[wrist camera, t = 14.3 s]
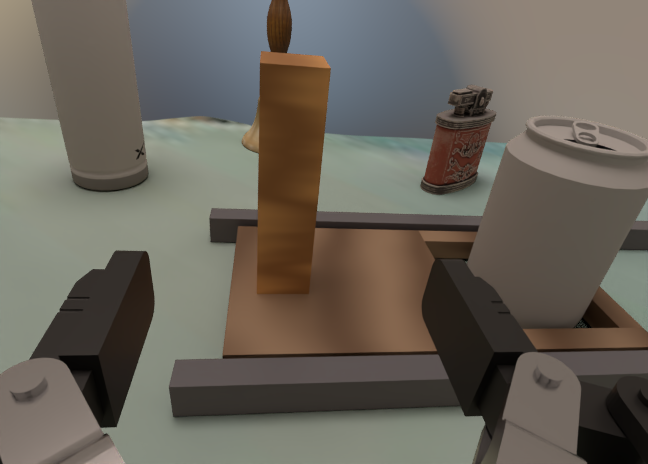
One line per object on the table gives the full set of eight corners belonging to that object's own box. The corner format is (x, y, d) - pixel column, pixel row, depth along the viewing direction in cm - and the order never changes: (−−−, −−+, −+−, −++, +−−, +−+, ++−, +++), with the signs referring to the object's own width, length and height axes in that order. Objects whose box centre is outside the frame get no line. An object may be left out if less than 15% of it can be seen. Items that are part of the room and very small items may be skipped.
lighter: (457, 170, 48) (482, 80, 43) (482, 181, 46) (512, 88, 41) (412, 185, 44) (434, 85, 39) (439, 198, 42) (466, 94, 36)
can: (453, 319, 26) (516, 133, 20) (464, 258, 33) (514, 101, 26) (584, 360, 25) (698, 168, 18) (568, 287, 31) (650, 125, 24)
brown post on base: (537, 249, 34) (614, 69, 27) (649, 365, 24) (819, 127, 17) (238, 243, 31) (235, 36, 24) (223, 376, 21) (210, 84, 14)
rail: (646, 240, 38) (657, 221, 37) (855, 390, 24) (882, 366, 23) (213, 231, 33) (211, 208, 32) (173, 416, 19) (169, 387, 18)
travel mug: (165, 179, 40) (136, -87, 29) (92, 198, 35) (27, -106, 25) (131, 158, 43) (95, -87, 33) (61, 173, 38) (-7, -104, 28)
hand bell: (246, 157, 46) (246, -11, 38) (237, 132, 53) (235, -16, 44) (319, 155, 48) (334, -3, 40) (302, 132, 55) (311, -8, 47)
